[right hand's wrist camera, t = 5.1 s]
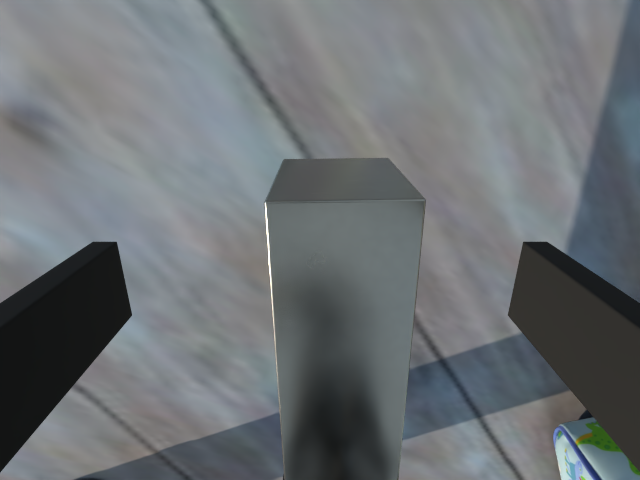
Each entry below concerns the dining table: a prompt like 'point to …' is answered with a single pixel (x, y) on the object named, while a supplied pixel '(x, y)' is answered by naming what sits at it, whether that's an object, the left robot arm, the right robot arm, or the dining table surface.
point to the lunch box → (590, 453)
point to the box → (343, 313)
